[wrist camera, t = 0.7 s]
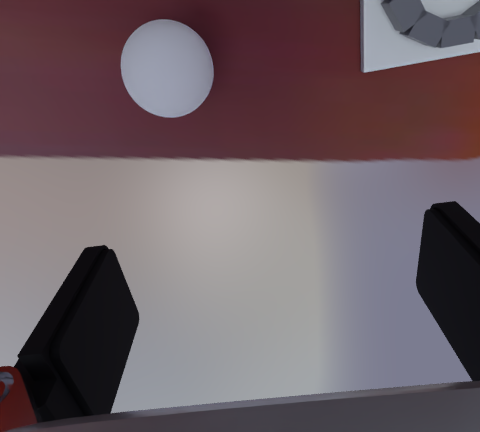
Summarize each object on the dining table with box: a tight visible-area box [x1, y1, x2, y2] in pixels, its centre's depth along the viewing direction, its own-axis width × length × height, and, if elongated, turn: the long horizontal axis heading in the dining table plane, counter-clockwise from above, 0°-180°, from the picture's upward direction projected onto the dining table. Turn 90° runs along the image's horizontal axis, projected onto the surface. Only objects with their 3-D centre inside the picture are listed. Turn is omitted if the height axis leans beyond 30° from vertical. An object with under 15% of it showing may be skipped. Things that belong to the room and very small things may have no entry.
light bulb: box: [121, 19, 214, 117], centre depth 29 cm, size 7×7×11 cm
